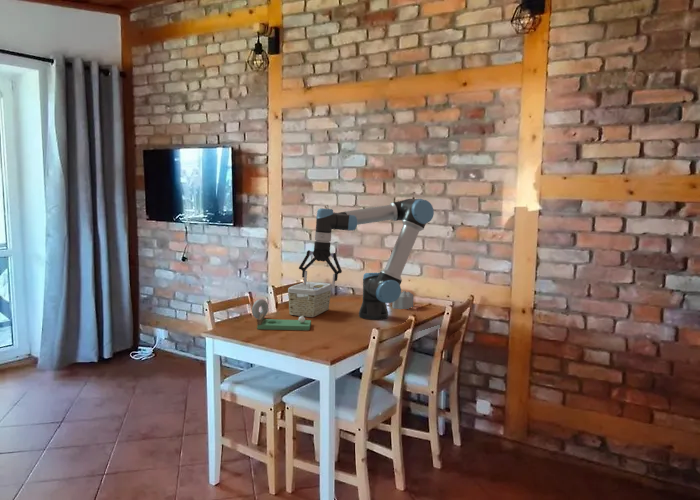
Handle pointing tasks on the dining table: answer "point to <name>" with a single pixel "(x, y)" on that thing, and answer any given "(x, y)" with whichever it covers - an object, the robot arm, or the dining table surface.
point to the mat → (284, 324)
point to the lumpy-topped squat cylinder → (403, 301)
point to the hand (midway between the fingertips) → (319, 286)
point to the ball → (301, 319)
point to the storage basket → (309, 299)
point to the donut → (256, 308)
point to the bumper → (260, 319)
